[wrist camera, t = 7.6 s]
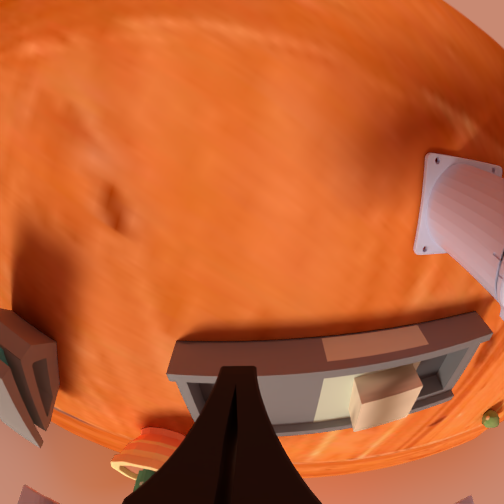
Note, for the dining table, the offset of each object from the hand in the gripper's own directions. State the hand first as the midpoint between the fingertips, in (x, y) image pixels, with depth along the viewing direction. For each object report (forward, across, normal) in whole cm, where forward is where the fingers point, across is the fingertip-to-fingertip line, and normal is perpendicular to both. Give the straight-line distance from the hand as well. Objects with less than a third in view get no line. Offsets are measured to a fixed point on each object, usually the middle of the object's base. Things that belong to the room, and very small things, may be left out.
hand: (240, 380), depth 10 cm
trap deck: (+10, -9, +14) cm, 20 cm away
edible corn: (+11, -62, +53) cm, 82 cm away
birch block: (+7, -12, +14) cm, 20 cm away
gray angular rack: (+11, +30, +13) cm, 34 cm away
